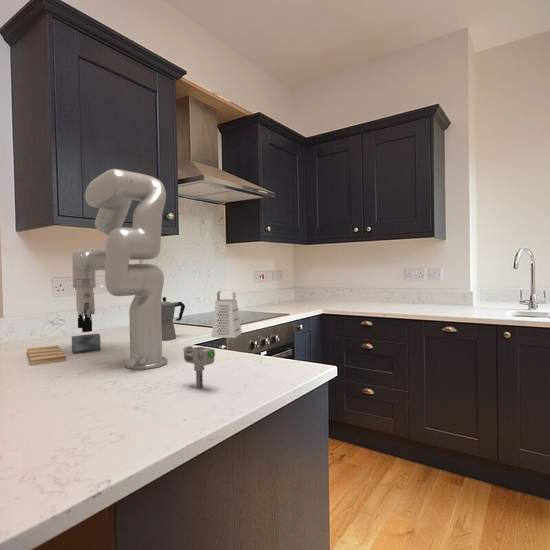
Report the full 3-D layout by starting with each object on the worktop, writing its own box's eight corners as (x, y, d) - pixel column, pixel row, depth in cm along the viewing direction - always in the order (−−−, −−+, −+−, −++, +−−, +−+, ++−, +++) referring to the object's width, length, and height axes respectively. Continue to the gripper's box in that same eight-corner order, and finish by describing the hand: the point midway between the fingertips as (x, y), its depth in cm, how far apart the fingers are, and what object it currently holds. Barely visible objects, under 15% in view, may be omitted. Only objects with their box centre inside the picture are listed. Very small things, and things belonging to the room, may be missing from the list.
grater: (234, 337, 165) (233, 291, 165) (211, 337, 167) (210, 291, 167) (241, 333, 176) (240, 289, 175) (219, 333, 178) (218, 290, 177)
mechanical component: (191, 382, 101) (190, 344, 101) (217, 390, 94) (217, 349, 94) (182, 385, 99) (181, 346, 98) (208, 393, 92) (207, 351, 92)
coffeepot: (151, 342, 158) (150, 298, 158) (147, 338, 167) (146, 297, 166) (188, 338, 165) (187, 296, 165) (182, 335, 174) (181, 295, 173)
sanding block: (98, 349, 147) (98, 333, 147) (100, 350, 144) (100, 334, 144) (72, 352, 142) (71, 336, 142) (73, 354, 139) (73, 337, 138)
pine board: (66, 360, 128) (66, 356, 128) (30, 365, 123) (30, 360, 123) (58, 348, 148) (57, 345, 148) (27, 352, 142) (27, 348, 142)
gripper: (99, 284, 138) (100, 332, 138) (91, 282, 152) (91, 325, 152) (76, 285, 133) (77, 334, 134) (69, 282, 147) (70, 327, 148)
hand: (84, 329), depth 143 cm, fingers open, 9 cm apart
